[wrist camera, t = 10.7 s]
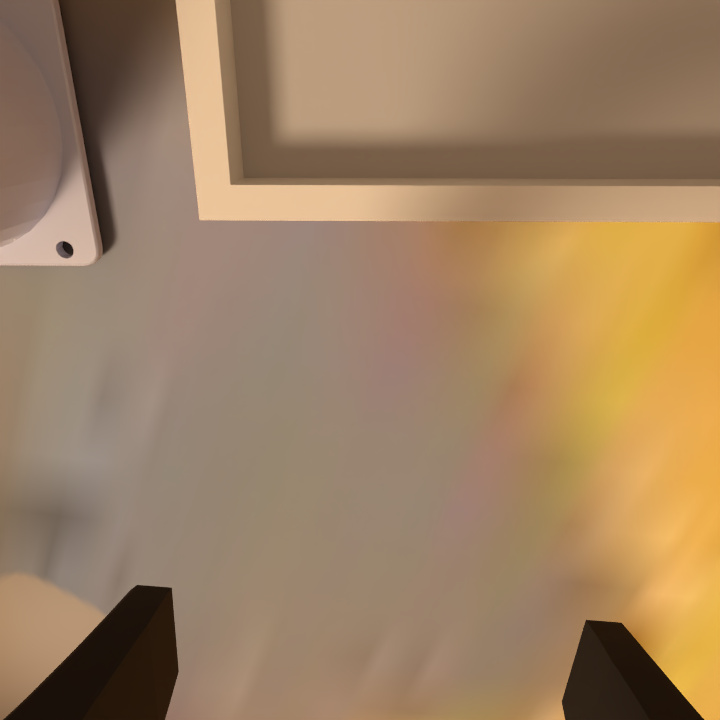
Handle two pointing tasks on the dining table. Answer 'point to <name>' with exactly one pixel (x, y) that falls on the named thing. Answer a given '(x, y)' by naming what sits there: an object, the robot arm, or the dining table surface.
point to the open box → (454, 109)
